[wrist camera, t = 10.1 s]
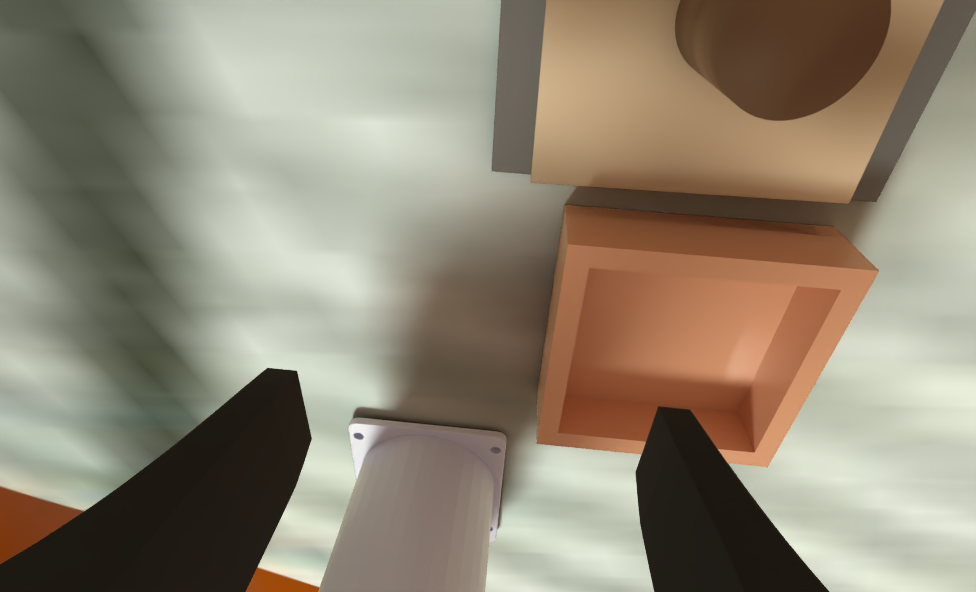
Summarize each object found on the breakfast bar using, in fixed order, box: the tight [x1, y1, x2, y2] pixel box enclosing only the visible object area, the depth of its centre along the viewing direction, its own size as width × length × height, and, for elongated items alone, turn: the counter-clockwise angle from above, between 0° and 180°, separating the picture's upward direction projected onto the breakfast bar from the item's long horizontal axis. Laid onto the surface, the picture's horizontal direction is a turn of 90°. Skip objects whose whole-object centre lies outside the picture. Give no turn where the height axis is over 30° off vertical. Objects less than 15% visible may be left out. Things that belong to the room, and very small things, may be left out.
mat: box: [492, 0, 976, 202], centre depth 15 cm, size 11×13×1 cm
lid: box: [531, 0, 944, 204], centre depth 13 cm, size 10×10×5 cm
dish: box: [537, 205, 879, 467], centre depth 20 cm, size 10×10×3 cm
